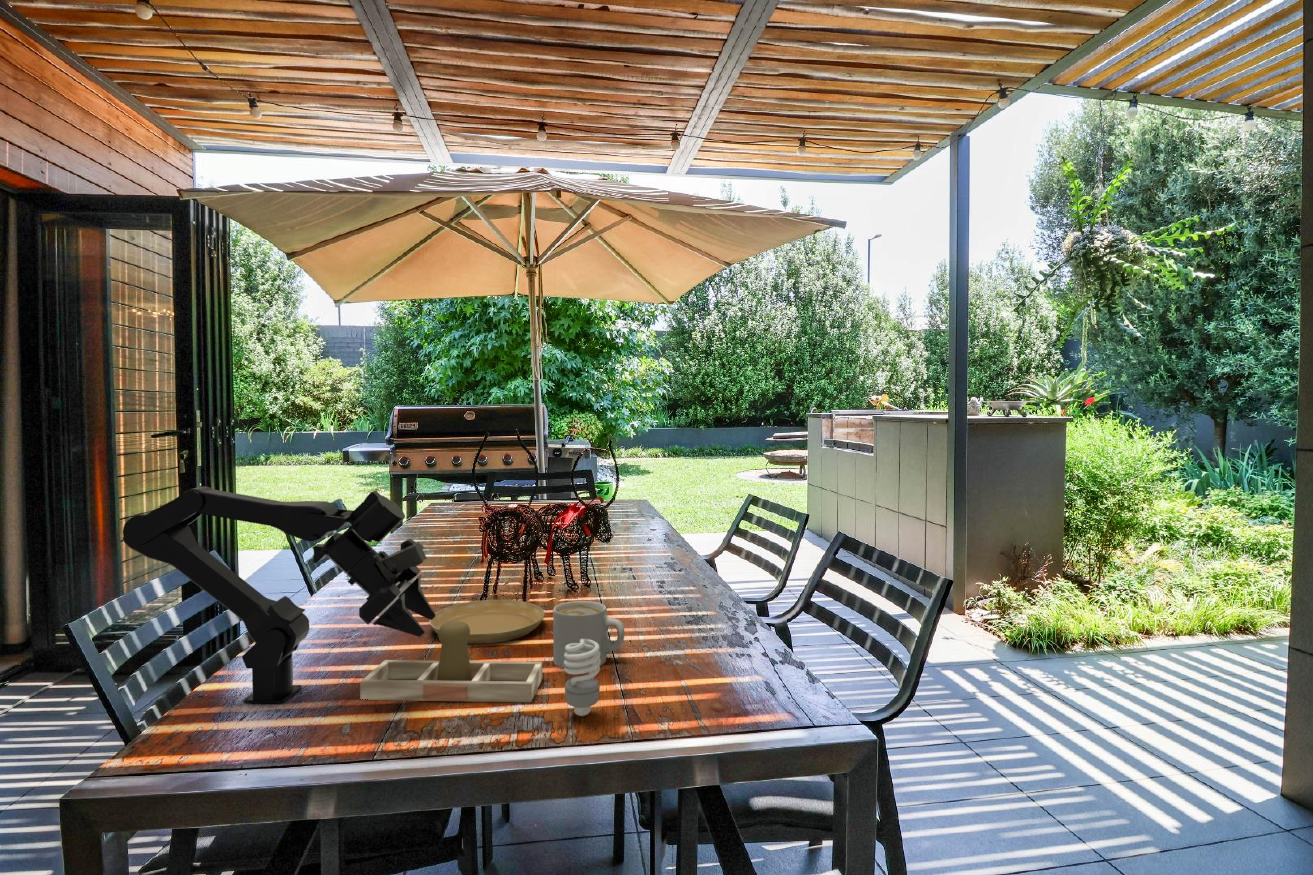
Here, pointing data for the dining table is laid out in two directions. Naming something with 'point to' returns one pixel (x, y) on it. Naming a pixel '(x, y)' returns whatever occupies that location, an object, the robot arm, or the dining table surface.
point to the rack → (452, 682)
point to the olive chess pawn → (454, 652)
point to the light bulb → (586, 687)
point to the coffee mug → (583, 628)
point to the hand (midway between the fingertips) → (428, 625)
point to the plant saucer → (492, 619)
